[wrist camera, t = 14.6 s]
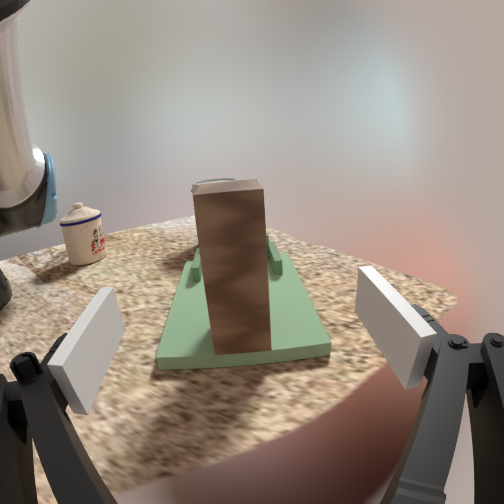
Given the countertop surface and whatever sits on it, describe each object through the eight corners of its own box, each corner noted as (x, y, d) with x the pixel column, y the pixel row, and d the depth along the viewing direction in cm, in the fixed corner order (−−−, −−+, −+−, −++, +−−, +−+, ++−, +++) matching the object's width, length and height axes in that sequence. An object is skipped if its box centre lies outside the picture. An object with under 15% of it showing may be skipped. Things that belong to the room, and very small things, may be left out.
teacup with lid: (102, 263, 55) (90, 203, 51) (62, 268, 53) (49, 211, 49) (115, 244, 66) (107, 193, 62) (80, 249, 64) (71, 200, 61)
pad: (159, 369, 27) (146, 325, 25) (187, 270, 49) (183, 240, 48) (330, 354, 27) (333, 309, 26) (287, 261, 50) (286, 231, 48)
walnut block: (215, 355, 26) (192, 194, 22) (216, 319, 32) (200, 184, 27) (271, 350, 27) (263, 188, 22) (264, 315, 32) (256, 179, 28)
